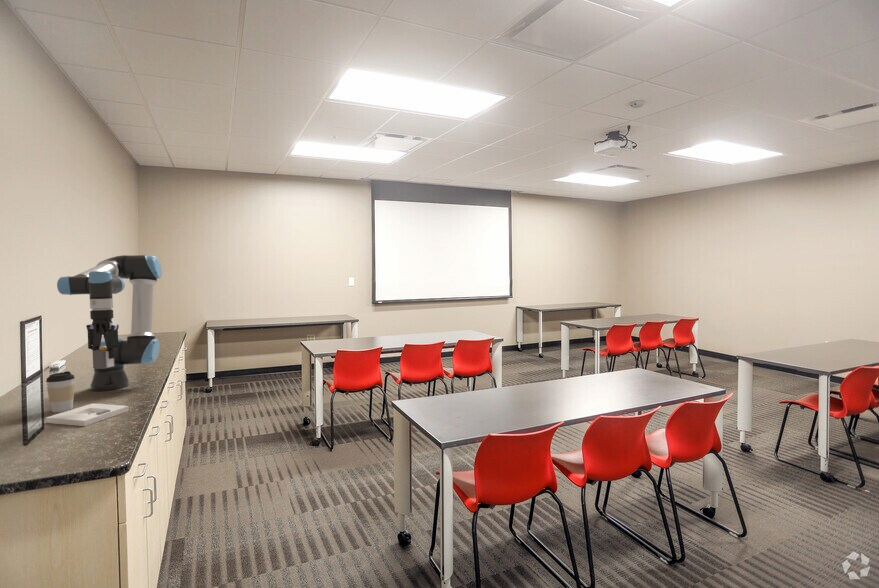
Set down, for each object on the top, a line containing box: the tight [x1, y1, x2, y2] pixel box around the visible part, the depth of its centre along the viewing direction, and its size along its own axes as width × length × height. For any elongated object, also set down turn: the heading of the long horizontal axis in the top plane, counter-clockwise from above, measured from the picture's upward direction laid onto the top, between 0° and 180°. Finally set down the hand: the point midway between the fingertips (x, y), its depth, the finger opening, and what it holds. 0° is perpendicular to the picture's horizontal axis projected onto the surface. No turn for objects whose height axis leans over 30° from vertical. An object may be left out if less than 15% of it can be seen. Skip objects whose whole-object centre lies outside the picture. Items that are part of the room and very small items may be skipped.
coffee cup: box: [45, 370, 75, 413], centre depth 187 cm, size 9×9×15 cm
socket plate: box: [45, 402, 130, 427], centre depth 178 cm, size 18×18×3 cm
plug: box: [92, 346, 115, 370], centre depth 187 cm, size 5×5×8 cm
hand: (104, 366), depth 187 cm, fingers closed on plug, 5 cm apart
